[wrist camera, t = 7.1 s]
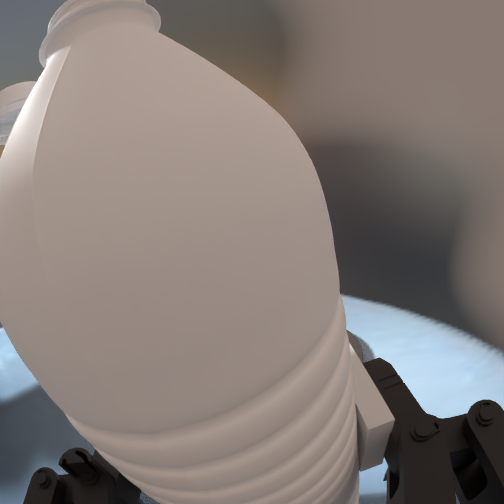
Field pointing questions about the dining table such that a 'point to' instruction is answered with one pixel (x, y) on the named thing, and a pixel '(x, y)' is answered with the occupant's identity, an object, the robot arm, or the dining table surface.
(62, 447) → the dining table surface
